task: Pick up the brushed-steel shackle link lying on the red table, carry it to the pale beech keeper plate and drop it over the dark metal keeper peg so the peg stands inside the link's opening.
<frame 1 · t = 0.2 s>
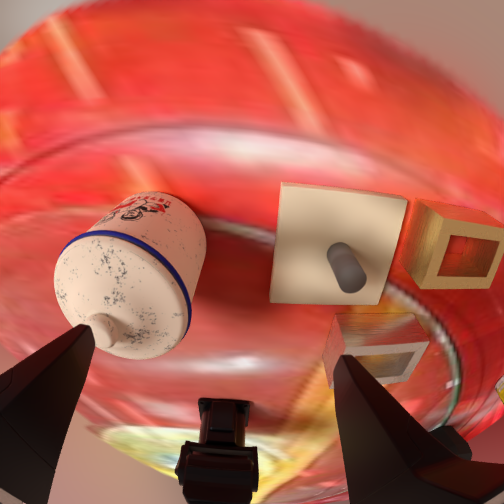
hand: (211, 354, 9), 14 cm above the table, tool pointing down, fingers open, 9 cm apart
link: (368, 335, 28), on the table
bottle: (428, 438, 45), on the table
keeper: (335, 246, 24), on the table
teacup with lid: (143, 245, 24), on the table
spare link: (444, 235, 23), on the table
supplement bottle: (503, 377, 37), on the table
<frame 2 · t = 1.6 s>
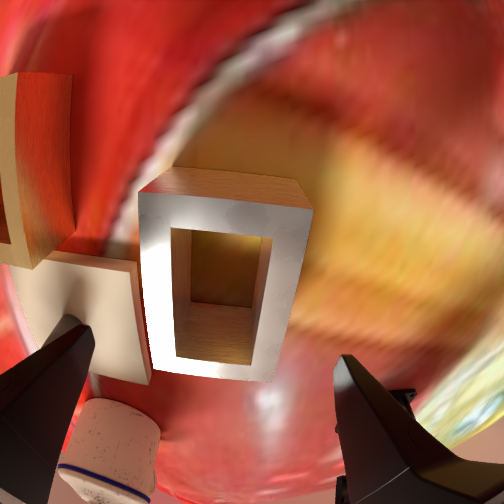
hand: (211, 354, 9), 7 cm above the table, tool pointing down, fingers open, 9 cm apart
link: (224, 255, 16), on the table
keeper: (80, 314, 18), on the table
teacup with lid: (130, 425, 25), on the table
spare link: (32, 157, 13), on the table
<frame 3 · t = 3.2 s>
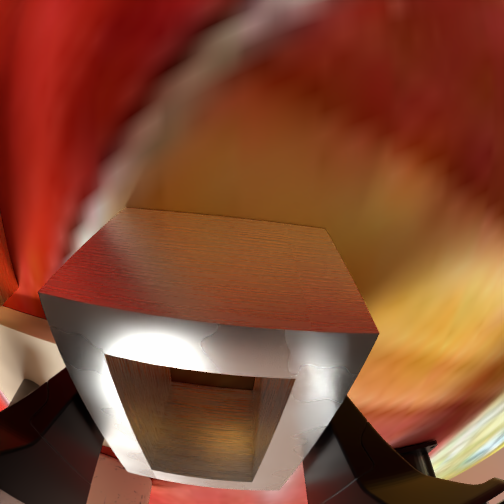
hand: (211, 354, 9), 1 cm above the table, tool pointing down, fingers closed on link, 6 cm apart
link: (214, 334, 10), on the table, touching gripper
keeper: (44, 376, 13), on the table
teacup with lid: (119, 471, 20), on the table
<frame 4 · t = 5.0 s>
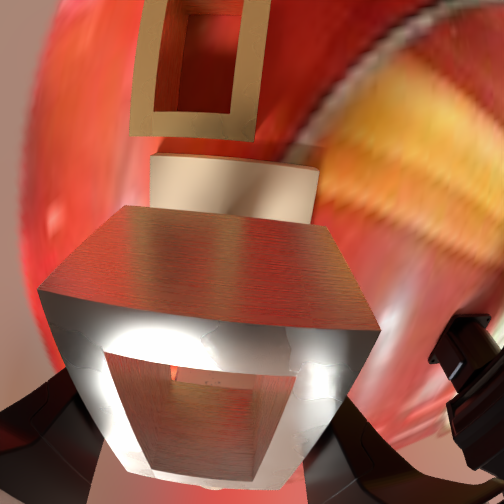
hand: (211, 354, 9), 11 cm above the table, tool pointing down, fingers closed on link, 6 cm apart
link: (214, 332, 10), point 10 cm above the table, touching gripper
keeper: (228, 232, 20), on the table
teacup with lid: (228, 382, 27), on the table
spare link: (211, 61, 14), on the table
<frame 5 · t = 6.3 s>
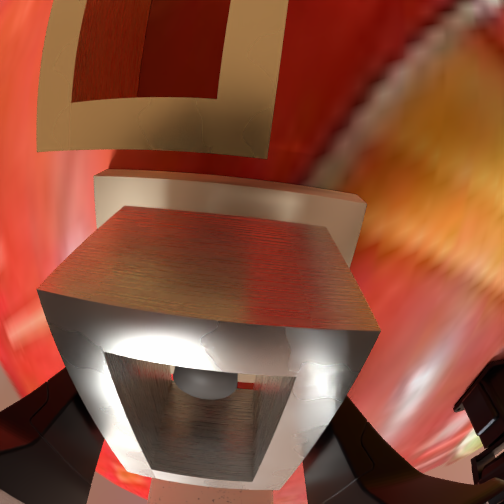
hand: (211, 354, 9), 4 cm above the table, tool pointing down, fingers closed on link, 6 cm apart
link: (214, 332, 10), point 3 cm above the table, touching gripper
keeper: (219, 288, 13), on the table
teacup with lid: (223, 442, 20), on the table
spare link: (193, 21, 8), on the table
when the fingers open (3 cm above the table, at t = 7.3 s): link drops 1 cm, resting on keeper.
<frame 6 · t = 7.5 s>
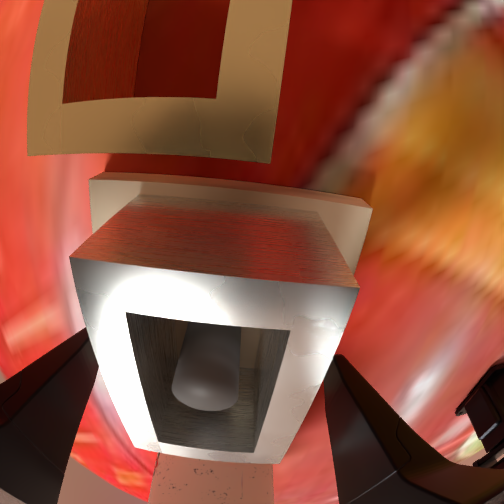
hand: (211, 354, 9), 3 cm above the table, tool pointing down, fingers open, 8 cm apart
link: (218, 311, 11), point 1 cm above the table, touching keeper
keeper: (219, 295, 13), on the table
teacup with lid: (224, 447, 20), on the table
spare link: (192, 17, 7), on the table
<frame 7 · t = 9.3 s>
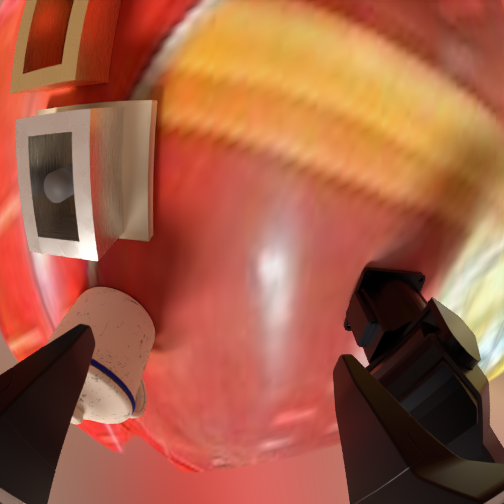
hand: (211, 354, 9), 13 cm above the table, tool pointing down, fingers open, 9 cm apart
link: (86, 171, 18), point 1 cm above the table, touching keeper
keeper: (93, 168, 19), on the table
teacup with lid: (123, 331, 27), on the table
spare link: (82, 33, 14), on the table
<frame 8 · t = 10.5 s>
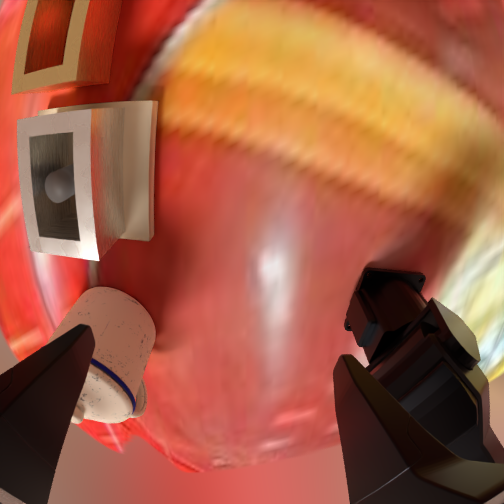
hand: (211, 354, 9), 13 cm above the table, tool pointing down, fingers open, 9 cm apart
link: (87, 171, 18), point 1 cm above the table, touching keeper
keeper: (94, 168, 19), on the table
teacup with lid: (124, 330, 27), on the table
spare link: (83, 33, 14), on the table
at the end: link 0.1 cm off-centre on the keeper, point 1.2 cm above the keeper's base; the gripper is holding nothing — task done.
